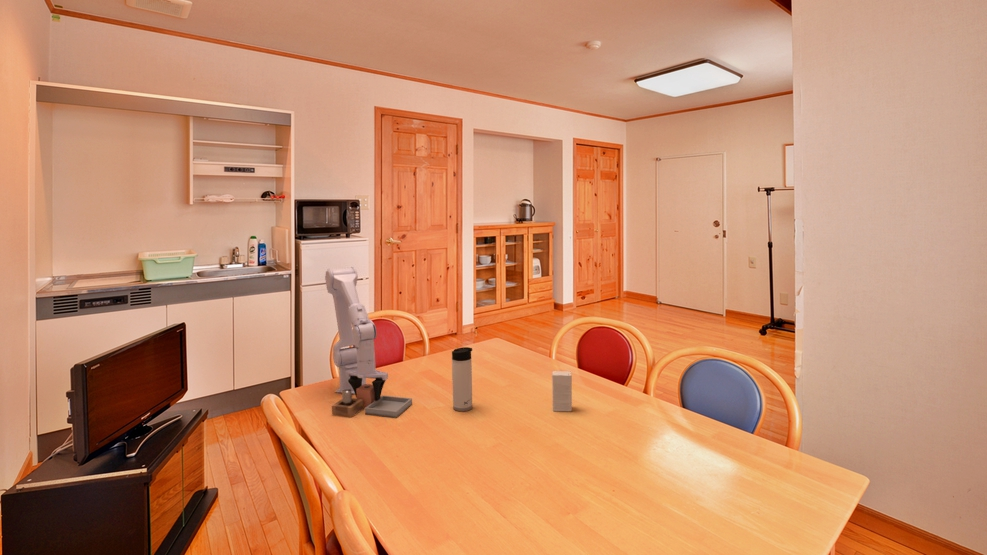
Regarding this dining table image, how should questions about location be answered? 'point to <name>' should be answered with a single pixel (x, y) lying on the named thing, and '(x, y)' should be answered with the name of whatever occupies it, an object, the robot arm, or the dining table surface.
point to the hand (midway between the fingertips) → (368, 398)
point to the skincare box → (562, 390)
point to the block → (366, 394)
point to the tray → (388, 406)
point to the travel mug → (462, 379)
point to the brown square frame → (347, 408)
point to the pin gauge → (347, 397)
